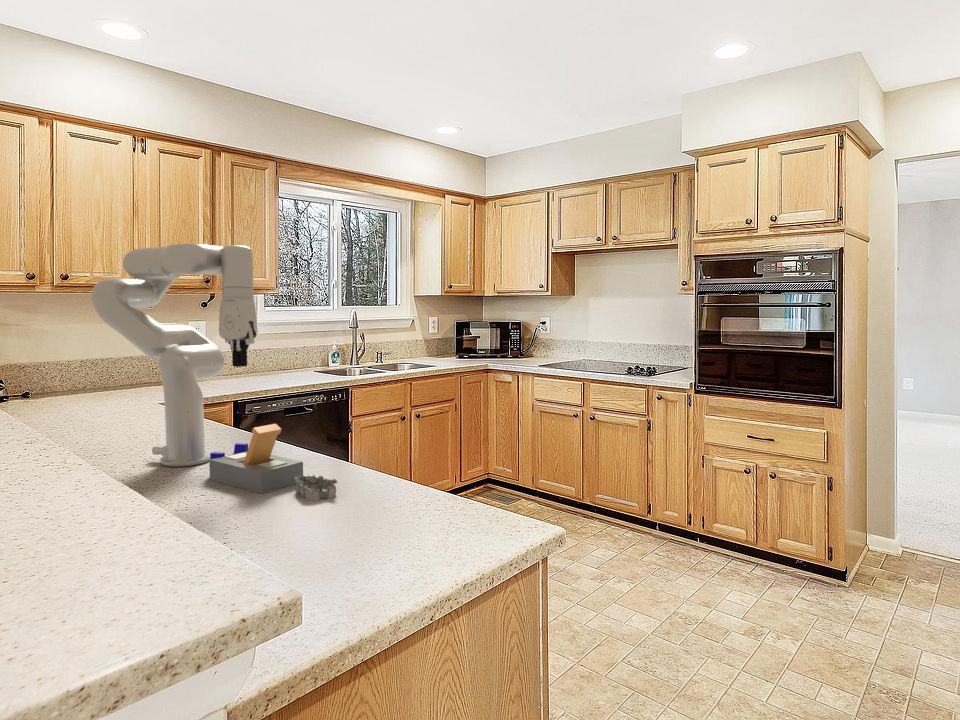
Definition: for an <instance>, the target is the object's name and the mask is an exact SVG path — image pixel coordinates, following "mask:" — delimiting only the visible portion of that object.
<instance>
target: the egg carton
mask: <svg viewBox="0 0 960 720" xmlns="http://www.w3.org/2000/svg"><path fill="white" fill-rule="evenodd" d="M318 476H319V477H317V476H315V475H314V474H313V475H312V476H311V475H307V476H306V475H303V477H297V476H295V480H296V484H295V491H296V493H300V496H301V497H305V500H306V501H319V500H320V499H323V498H325V497H326V498H327V499H333V498H334V497H336V495H337V487H336V484H338V481H337V479H335V478H332V479H330V478H324V476H322V475H318ZM326 498H325V499H326Z"/></svg>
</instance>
